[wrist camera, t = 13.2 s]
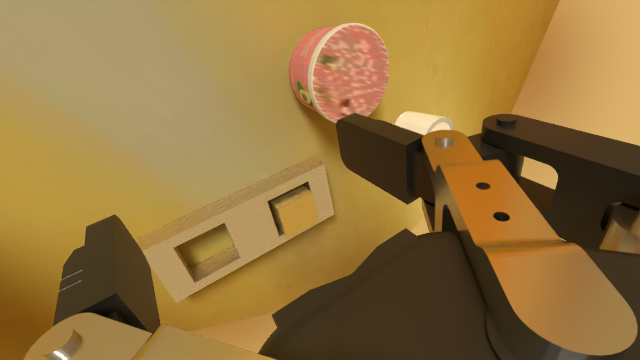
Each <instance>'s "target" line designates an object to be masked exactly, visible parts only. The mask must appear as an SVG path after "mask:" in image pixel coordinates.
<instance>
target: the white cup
mask: <svg viewBox="0 0 640 360" xmlns="http://www.w3.org/2000/svg"><path fill="white" fill-rule="evenodd" d="M395 125H397V126H399V127H400V128H405V129H408V130H411V131H414V132H417V133H419V134H422V135H426V134H427V133H430V132H433V131H437V130H453V124H452V122H451V120H450V119H448V118H447V117H442V116H436V115H430V114H424V113H417V112H411V111H409V112H405V113H403V114H401V115H400V117H399V118H398V119H397V120H396V123H395Z"/></svg>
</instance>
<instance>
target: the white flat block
mask: <svg viewBox="0 0 640 360" xmlns="http://www.w3.org/2000/svg"><path fill="white" fill-rule="evenodd" d="M300 185H303V186H304V187H306V188H307V189H308V190H309V191H310V192H312V195H313V200H314V204H315V208H316V213H317V217H318V222H317V223H315V224H313V225H311V226H310V227H308V228H306V229H304V230H302V231H300V232H299V233H297V234H295V235H293V236H291V237H289V238H288V239H287V238H286V237H285V236H284V234H283V233H282V232H281V231H280V230H279V228H278V227H277V226H276V225H275V222H274V219H273V216H272V214H271V211H270V208H269V205H268V202H267V201H269V200H271V199H273V198H275V197H277V196H279V195H281V194H283V193H285V192H287V191H289V190H291V189H293V188H296V187H298V186H300ZM332 215H334V210H333V205H332V200H331V195H330V190H329V185H328V180H327V175H326V170H325V165H324V163H322V162H321V161H319V160H318V159H316V158H314V157H311V158H309V159H307V160H305V161H303V162H301V163H298V164H296V165H294V166H292V167H290V168H288V169H285V170H283V171H281V172H279V173H277V174H275V175H272V176H270V177H268V178H266V179H264V180H262V181H260V182H257V183H255V184H253V185H251V186H249V187H247V188H244V189H242V190H240V191H238V192H236V193H234V194H231V195H229V196H227V197H225V198H223V199H221V200H218V201H216V202H214V203H212V204H210V205H208V206H206V207H203V208H201V209H199V210H197V211H195V212H193V213H190V214H188V215H186V216H184V217H182V218H180V219H177V220H175V221H173V222H171V223H169V224H167V225H165V226H162V227H160V228H158V229H156V230H154V231H152V232H149V233H147V234H145V235H143V236H141V237H139V244H140V249H141V250H142V252H143V253H144V255H145V257H146V259H147V261H148V263H149V265H150V266H151V268H152V269H153V270H154V272H155V273H156V275H157V276H158V278H159V279H160V280H161V282H162V283H163V285H164V286H165V288H166V289H167V290H168V292H169V293H170V295H171V296H172V298H173V299H174V301H175V302H176V303H177V302H179V301H181V300H182V299H184V298H186V297H188V296H189V295H191V294H193V293H195V292H197V291H198V290H200V289H202V288H204V287H206V286H207V285H209V284H211V283H213V282H214V281H216V280H218V279H220V278H222V277H223V276H225V275H227V274H229V273H231V272H232V271H234V270H236V269H238V268H239V267H241V266H243V265H245V264H247V263H248V262H250V261H252V260H254V259H256V258H257V257H259V256H261V255H263V254H264V253H266V252H268V251H270V250H272V249H273V248H275V247H277V246H279V245H281V244H282V243H284V242H286V241H288V240H289V239H291V238H293V237H295V236H297V235H298V234H300V233H302V232H304V231H306V230H307V229H309V228H311V227H313V226H314V225H316V224H318V223H320V222H322V221H323V220H325V219H327V218H329V217H330V216H332ZM221 224H224V226H225V228H226V230H227V232H228V234H229V237H230V239H231V241H232V243H233V246H232V247H230V248H228V249H226V250H224V251H222V252H220V253H218V254H216V255H215V256H213V257H211V258H209V259H207V260H205V261H203V262H201V263H199V264H198V265H196V266H194V267H192V268H189V267H188V265H187V263H186V262H185V260H184V258H183V257H182V255H181V253H180V252H179V250H178V248H177V247H176V246H178V245H180V244H182V243H184V242H186V241H188V240H190V239H192V238H194V237H196V236H198V235H200V234H202V233H204V232H206V231H208V230H211V229H213V228H215V227H217V226H219V225H221Z"/></svg>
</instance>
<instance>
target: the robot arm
mask: <svg viewBox="0 0 640 360" xmlns="http://www.w3.org/2000/svg"><path fill="white" fill-rule="evenodd" d="M336 129H337V135H338V141H339V148H340V154H341V158H342V161H343V163H344V164H345V166H346V167H347V168H348V169H349V170H351V171H352V172H354V173H356V174H357V175H359V176H361V177H362V178H364V179H366V180H367V181H369V182H371V183H372V184H374V185H376V186H377V187H379V188H381V189H382V190H384V191H386V192H387V193H389V194H391V195H392V196H394V197H396V198H397V199H399V200H401V201H402V202H404V203H406V204H407V205H408V204H409V203H411V202H413V201H414V200H416V199H418V198H419V197H420V198H422V209H423V212H424V216H425V219H426V222H427V225H428V229H429V233H426V234H422V235H419V236H416V235H415V234H413V233H412V232H410V231H409V230H407V229H406V228H405V229H404V230H402V231H401V232H399V233H398V234H396V235H395V236H393V237H391V238H390V239H388V240H387V241H385V242H384V243H382V244H381V245H379V246H378V247H377V248H376V249H375V250H374V251H373V252H372V253H371V254H370V255H369V256H368V257H367V258H366V260H365V261H364V262H363V263H362V264H361V265H360V266H359V267H358V268H357V269H356V270H355V272H353V273H352V274H351V275H349V276H346V277H344V278H341V279H338V280H336V281H333V282H331V283H328V284H325V285H323V286H320V287H317V288H315V289H312V290H309V291H308V292H306V293H305V294H303V295H302V296H300V297H299V298H297V299H296V300H294V301H292V302H291V303H289V304H288V305H286V306H285V307H283V308H282V309H280V310H279V311H277V312H275V313H274V314H272V317H273V319H274V321H275V324H276V326H277V329H276V330H275V331H274V332H273V333H272V334H271V335H270V337H269V338H268V339H267V341H266V342H265V343H264V345H263V346H262V348H261V349H260V351H259V353H258V354H257V353H254V352H251V351H248V350H244V349H241V348H238V347H235V346H231V345H229V344H226V343H222V342H219V341H216V340H213V339H210V338H206V337H203V336H200V335H197V334H194V333H191V332H188V331H185V330H181V329H178V328H175V327H172V326H168V325H160V319H159V314H158V308H157V303H156V297H155V292H154V286H153V281H152V275H151V270H150V266H149V263H148V261H147V259H146V257H145V255H144V253H143V252H142V250H141V249H140V247H139V246H138V244H137V243H136V241H135V240H134V239H133V237H132V236H131V234H130V233H129V231H128V230H127V228H126V227H125V226H124V224H123V223H122V221H121V220H120V219H119V217H118V216H116V215H112V216H110V217H108V218H105V219H103V220H101V221H98V222H96V223H94V224H91V225H89V226H87V227H86V235H85V246H83V247H80V248H78V249H76V250H74V251H73V253H72V254H71V255H70V257H69V258H68V260H67V261H66V263H65V264H64V266H63V272H62V281H61V283H60V292H59V295H58V301H57V306H56V312H55V318H54V324H53V327H52V328H51V329H49V330H48V331H47V332H46V333H44V334H43V335H42V336H41V337H40V338H39V339H38V340H37V341H36V342H35V343H34V344H33V346H32V347H31V348H30V349H29V351H28V352H27V354H26V355H25V357H24V359H23V360H640V146H638V145H634V144H630V143H626V142H622V141H618V140H614V139H610V138H606V137H602V136H598V135H594V134H590V133H586V132H582V131H578V130H575V129H571V128H566V127H563V126H559V125H555V124H551V123H547V122H542V121H539V120H535V119H531V118H527V117H523V116H519V115H513V114H499V115H493V116H489V117H487V118H485V119H484V120H483V123H482V132H481V133H480V134H476V135H472V136H469V137H467V136H466V135H465V134H463V133H461V132H458V131H454V130H437V131H433V132H430V133H427V134H426V135H422V134H419V133H417V132H414V131H411V130H408V129H405V128H400V127H399V126H397V125H392V124H391V123H388V122H385V121H382V120H374V119H371V118H368V117H366V116H363V115H360V114H357V113H353V114H350V115H348V116H346V117H343V118H341V119H339V120H337V123H336ZM524 156H525V157H528V158H531V159H534V160H537V161H539V162H542V163H545V164H548V165H550V166H552V167H553V168H554V169H555V170H556V172H557V174H558V182H557V185H556V189H555V190H554V189H551V188H549V187H546V186H544V185H541V184H539V183H536V182H534V181H531V180H529V179H527V178H524V177H521V171H522V166H523V161H524ZM559 237H560V238H562V239H564V240H566V241H564V240H562V239H560V238H559Z"/></svg>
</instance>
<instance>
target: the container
mask: <svg viewBox="0 0 640 360" xmlns="http://www.w3.org/2000/svg"><path fill="white" fill-rule="evenodd" d="M388 78H389V57H388V53H387V49H386V47H385V44H384V42H383V40H382V39H381V37H380V36H379V34H378V33H377V32H375V31H374V30H373V29H372V28H370V27H368V26H366V25H363V24H359V23H348V24H343V25H340V26H335V27H322V28H318V29H315V30H313V31H311V32H309V33H308V34H306V35H305V36H304V37H303V38H302V39H301V40H300V41H299V43H298V44H297V45H296V47H295V48H294V50H293V53H292V55H291V58H290V62H289V80H290V83H291V87H292V89H293V91H294V93H295V95H296V97H297V98H298V100H299V101H300V102H301V103H302V104H303V105H304V106H306V107H308V108H310V109H311V110H313V111H315V112H317V113H319V114H321V115H322V116H323V117H324V118H325V119H327V120H329V121H331V122H333V123H337V120H339V119H341V118H343V117H346V116H348V115H350V114H353V113H357V114H360V115H363V116H366V117H367V116H369V115H370V114H371V113H372V112H373V111H374V110H375V108H376V107H377V106H378V104H379V103H380V101H381V99H382V97H383V95H384V93H385V90H386V87H387V83H388Z"/></svg>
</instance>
